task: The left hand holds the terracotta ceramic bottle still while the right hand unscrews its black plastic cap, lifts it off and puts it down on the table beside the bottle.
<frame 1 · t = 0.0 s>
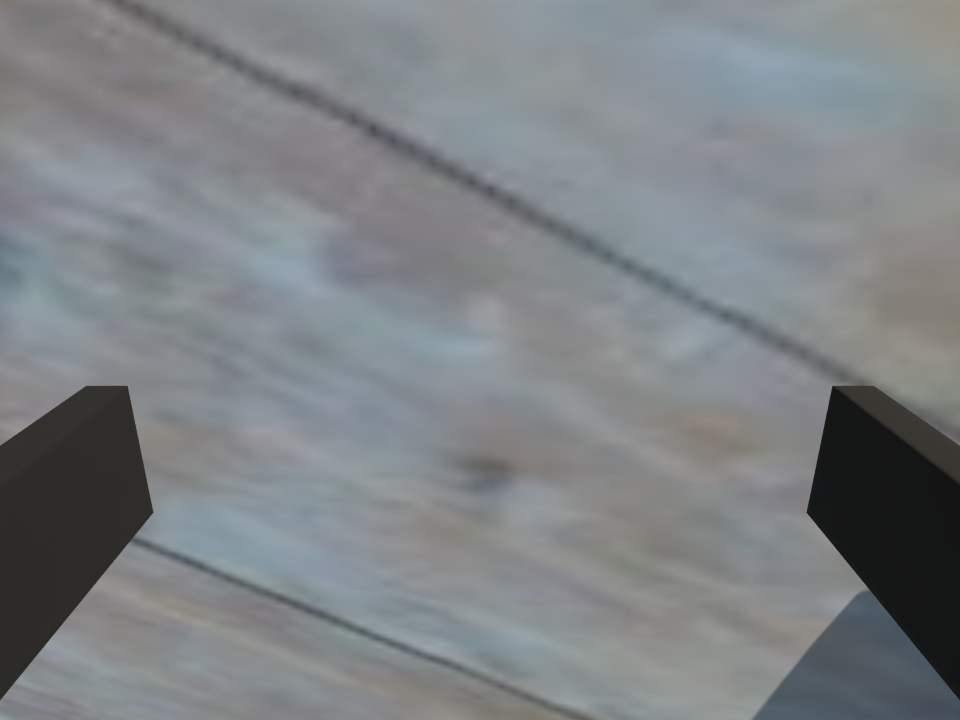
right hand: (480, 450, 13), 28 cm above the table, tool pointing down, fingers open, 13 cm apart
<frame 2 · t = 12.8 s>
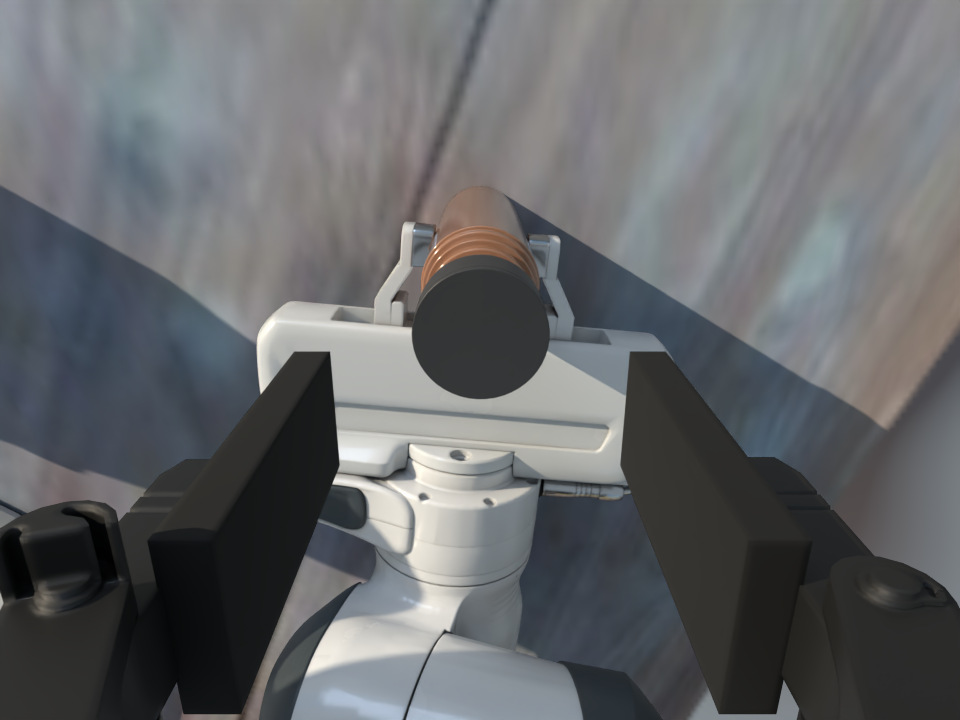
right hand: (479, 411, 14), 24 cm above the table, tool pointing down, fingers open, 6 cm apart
left hand: (481, 230, 31), fingers closed on bottle, 4 cm apart
bottle: (480, 227, 37), on the table, touching left hand
cap: (480, 333, 19), point 19 cm above the table, screwed on, not yet turned
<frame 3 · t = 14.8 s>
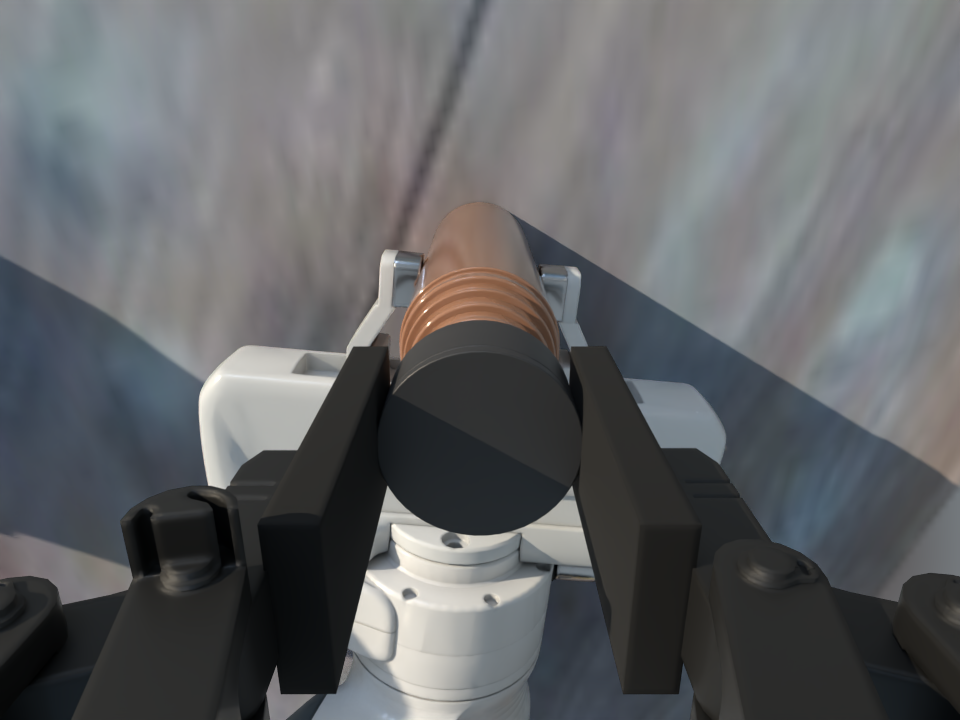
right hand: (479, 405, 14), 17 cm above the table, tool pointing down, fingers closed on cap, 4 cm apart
bottle: (479, 250, 31), on the table, touching left hand
cap: (479, 441, 13), point 19 cm above the table, screwed on, not yet turned, touching right hand
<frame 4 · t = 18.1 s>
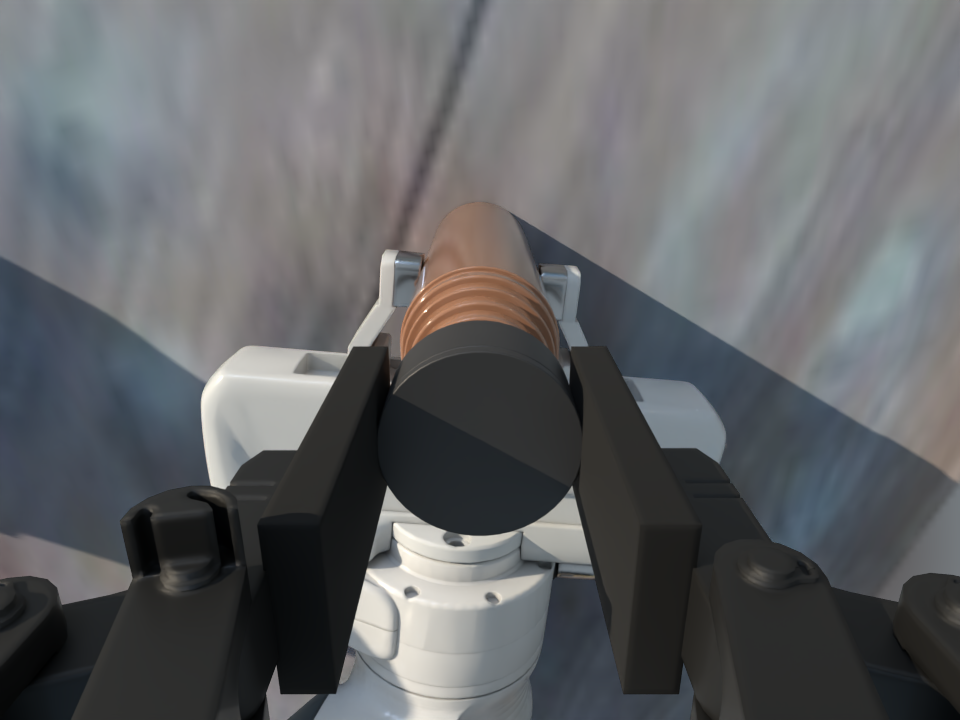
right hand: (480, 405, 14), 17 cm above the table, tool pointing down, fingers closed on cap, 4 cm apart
bottle: (479, 250, 31), on the table, touching left hand
cap: (479, 441, 13), point 19 cm above the table, turned 119° so far, risen 0.1 cm, still on its thread, touching right hand
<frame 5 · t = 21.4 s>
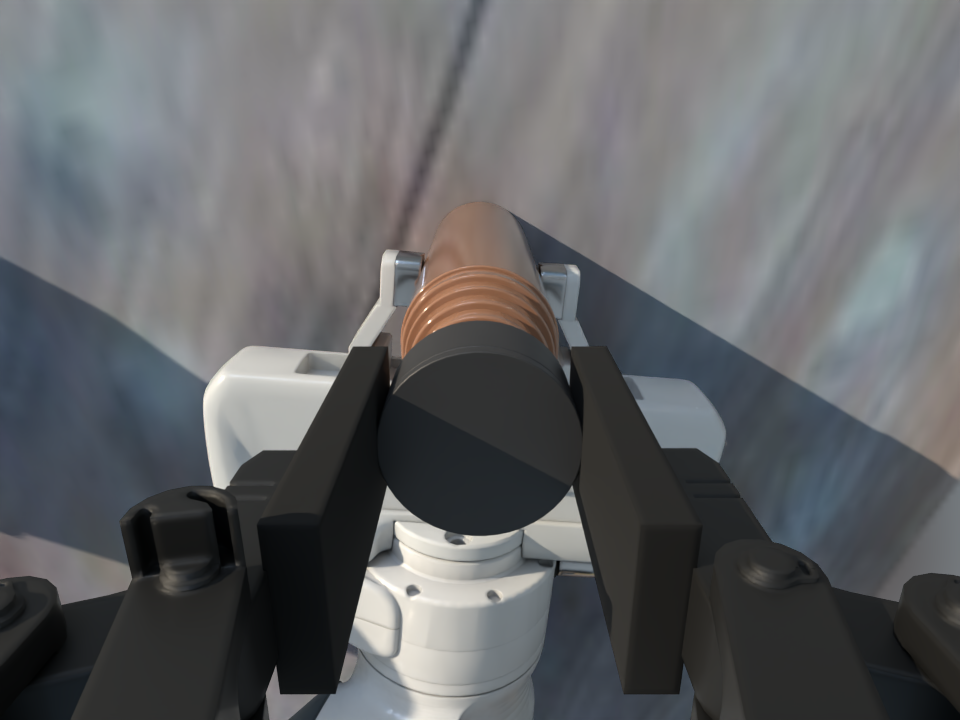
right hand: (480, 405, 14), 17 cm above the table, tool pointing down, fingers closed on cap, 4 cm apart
bottle: (479, 249, 31), on the table, touching left hand
cap: (479, 441, 13), point 19 cm above the table, turned 238° so far, risen 0.2 cm, still on its thread, touching right hand
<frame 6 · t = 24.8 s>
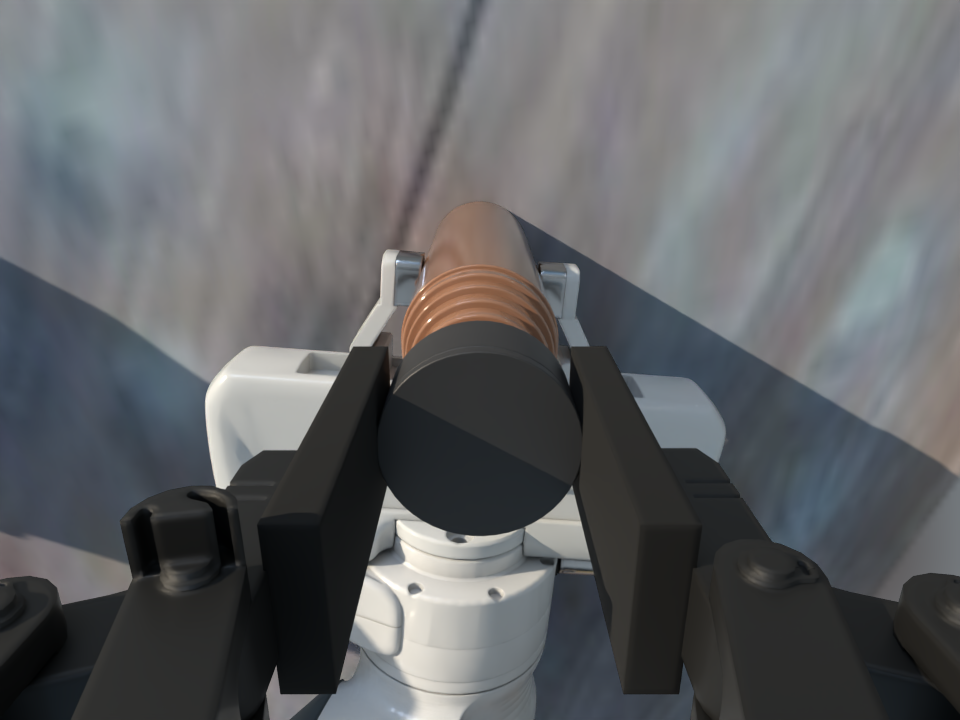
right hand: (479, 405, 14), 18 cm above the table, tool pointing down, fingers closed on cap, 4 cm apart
bottle: (479, 249, 31), on the table, touching left hand
cap: (479, 442, 13), point 19 cm above the table, turned 357° so far, risen 0.4 cm, still on its thread, touching right hand
when the right hand's fingers open (1 cm above the table, at t = 31.3 s): cap stays where it is, point 2 cm above the table.
when the left hand's fingers open (6 cm above the table, at t = 32.6 s): bottle stays where it is, on the table.
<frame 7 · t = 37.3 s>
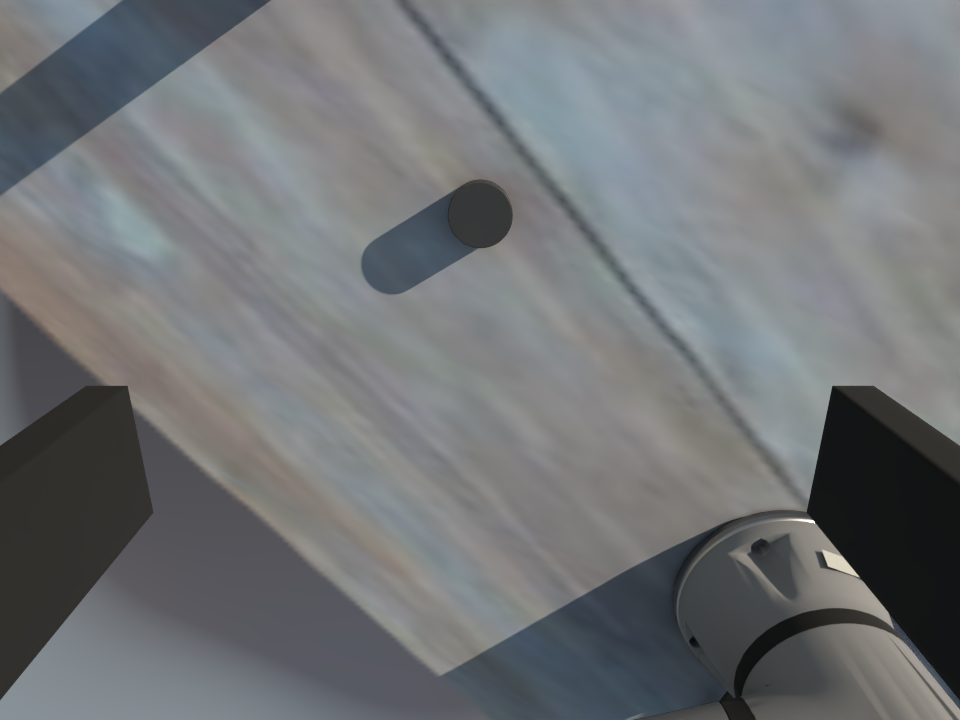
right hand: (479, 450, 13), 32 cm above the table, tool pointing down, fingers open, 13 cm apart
cap: (480, 215, 41), point 2 cm above the table, off its thread
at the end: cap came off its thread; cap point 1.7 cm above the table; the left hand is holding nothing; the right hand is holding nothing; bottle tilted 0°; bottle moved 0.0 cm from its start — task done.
